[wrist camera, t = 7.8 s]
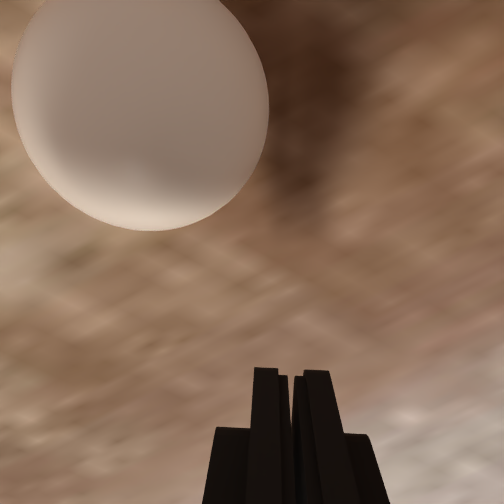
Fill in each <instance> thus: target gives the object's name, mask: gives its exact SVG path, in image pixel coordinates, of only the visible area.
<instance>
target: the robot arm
mask: <svg viewBox="0 0 504 504" xmlns="http://www.w3.org/2000/svg"><path fill="white" fill-rule="evenodd" d="M202 504H390V502H389V499H388V496H387V492H386V489H385V486H384V483H383V480H382V477H381V473H380V470H379V467H378V464H377V461H376V457H375V454H374V451H373V448H372V445H371V442H370V439H369V437H368V436H367V435H366V434H350V433H344V432H343V427H342V423H341V419H340V415H339V410H338V406H337V402H336V398H335V393H334V389H333V385H332V381H331V376H330V373H329V371H325V370H304V373H303V376H295V378H294V391H293V407H292V423H291V420H290V405H289V390H288V376H287V375H278V368H259V367H254V381H253V396H252V411H251V426H250V428H231V427H216V430H215V435H214V440H213V446H212V451H211V457H210V462H209V468H208V473H207V479H206V484H205V490H204V496H203V501H202Z"/></svg>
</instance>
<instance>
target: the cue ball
mask: <svg viewBox="0 0 504 504" xmlns="http://www.w3.org/2000/svg"><path fill="white" fill-rule="evenodd" d="M11 94H12V106H13V112H14V117H15V121H16V125H17V129H18V132H19V135H20V138H21V141H22V143H23V145H24V148H25V150H26V152H27V154H28V155H29V157H30V159H31V161H32V162H33V164H34V165H35V167H36V168H37V170H38V171H39V173H40V174H41V175H42V177H43V178H44V179H45V180H46V182H47V183H48V184H49V185H50V186H51V187H52V188H53V189H54V190H55V191H56V192H57V193H58V194H59V195H60V196H61V197H63V198H64V199H65V200H66V201H67V202H69V203H70V204H71V205H73V206H74V207H76V208H77V209H79V210H81V211H82V212H84V213H86V214H87V215H89V216H91V217H93V218H95V219H98V220H100V221H103V222H105V223H108V224H111V225H113V226H117V227H122V228H127V229H132V230H141V231H161V230H170V229H175V228H180V227H183V226H187V225H190V224H193V223H195V222H197V221H200V220H202V219H204V218H206V217H208V216H210V215H212V214H213V213H214V212H216V211H217V210H219V209H220V208H222V207H223V206H224V205H226V204H227V203H228V202H229V201H230V200H231V199H232V198H233V197H234V196H236V195H237V193H238V192H239V191H240V190H241V188H242V187H243V186H244V185H245V183H246V182H247V181H248V179H249V178H250V176H251V174H252V173H253V171H254V169H255V168H256V165H257V163H258V161H259V159H260V156H261V154H262V150H263V147H264V144H265V140H266V135H267V129H268V120H269V95H268V89H267V82H266V77H265V74H264V70H263V66H262V63H261V61H260V58H259V56H258V53H257V51H256V49H255V47H254V45H253V43H252V42H251V40H250V38H249V36H248V34H247V33H246V31H245V29H244V28H243V27H242V25H241V24H240V23H239V21H238V20H237V19H236V17H235V16H234V15H233V14H232V13H231V12H230V11H229V10H228V9H227V8H226V7H225V6H224V5H223V4H222V3H221V2H220V1H219V0H46V1H45V2H44V3H43V5H42V6H41V7H40V8H39V9H38V10H37V11H36V13H35V14H34V15H33V17H32V19H31V20H30V22H29V23H28V25H27V27H26V29H25V31H24V33H23V35H22V37H21V39H20V42H19V45H18V47H17V50H16V54H15V58H14V63H13V70H12V82H11Z"/></svg>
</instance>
